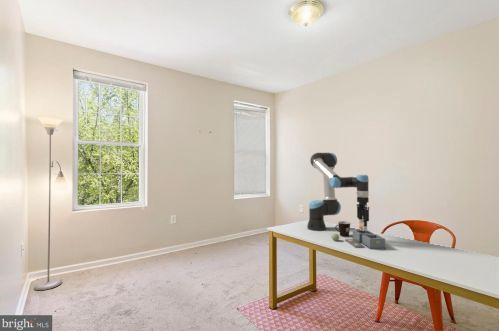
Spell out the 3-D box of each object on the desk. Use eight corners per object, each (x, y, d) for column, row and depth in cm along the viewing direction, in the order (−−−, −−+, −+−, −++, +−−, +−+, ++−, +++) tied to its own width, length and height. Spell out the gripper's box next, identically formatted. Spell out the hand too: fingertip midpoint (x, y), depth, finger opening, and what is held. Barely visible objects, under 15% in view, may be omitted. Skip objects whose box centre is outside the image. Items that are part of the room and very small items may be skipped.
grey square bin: (352, 238, 183) (352, 230, 183) (366, 238, 184) (366, 229, 184) (359, 243, 173) (359, 233, 173) (373, 243, 174) (373, 233, 174)
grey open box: (362, 244, 172) (362, 234, 171) (376, 243, 172) (376, 234, 172) (370, 249, 161) (370, 239, 161) (385, 248, 162) (385, 238, 162)
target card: (345, 240, 180) (345, 239, 180) (353, 240, 180) (353, 238, 180) (355, 247, 164) (355, 246, 164) (364, 247, 164) (364, 246, 164)
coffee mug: (348, 234, 196) (348, 221, 196) (351, 237, 187) (351, 223, 187) (333, 233, 197) (333, 221, 197) (335, 237, 189) (335, 223, 188)
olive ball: (330, 239, 182) (330, 232, 182) (337, 239, 182) (337, 232, 182) (333, 241, 177) (333, 234, 177) (340, 241, 177) (340, 234, 177)
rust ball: (357, 229, 181) (357, 222, 181) (364, 229, 181) (364, 222, 181) (361, 230, 176) (361, 223, 176) (368, 230, 176) (368, 223, 176)
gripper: (351, 195, 187) (352, 226, 187) (363, 198, 169) (364, 233, 169) (361, 195, 188) (361, 226, 188) (374, 198, 170) (375, 232, 170)
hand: (362, 229), depth 179 cm, fingers closed on rust ball, 5 cm apart
